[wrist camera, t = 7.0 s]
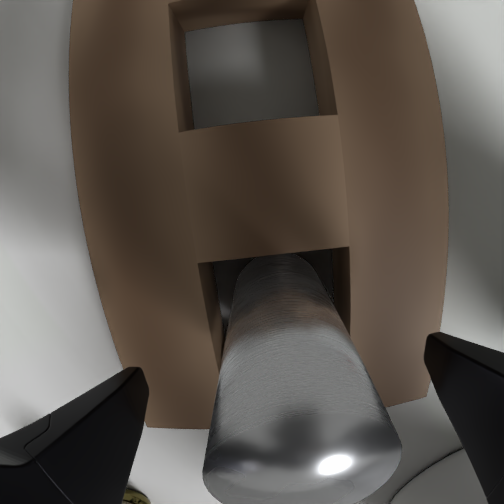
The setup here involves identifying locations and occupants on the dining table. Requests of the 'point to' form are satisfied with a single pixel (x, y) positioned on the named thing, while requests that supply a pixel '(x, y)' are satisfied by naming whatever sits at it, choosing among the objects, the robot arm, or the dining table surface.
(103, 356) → the dining table surface
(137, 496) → the cup
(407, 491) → the cylinder vase
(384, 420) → the lock pin
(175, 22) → the mount block
